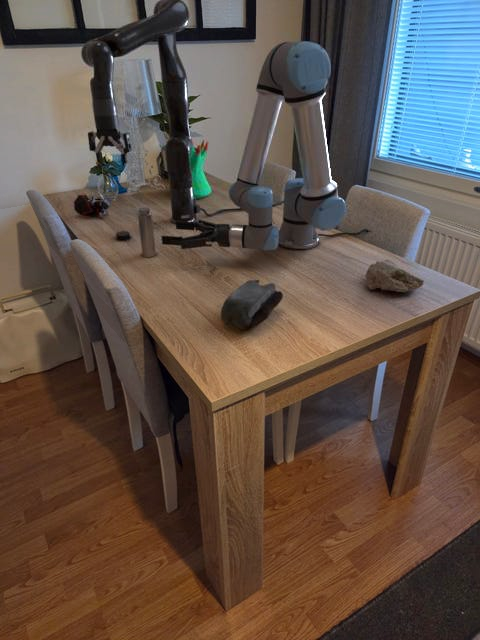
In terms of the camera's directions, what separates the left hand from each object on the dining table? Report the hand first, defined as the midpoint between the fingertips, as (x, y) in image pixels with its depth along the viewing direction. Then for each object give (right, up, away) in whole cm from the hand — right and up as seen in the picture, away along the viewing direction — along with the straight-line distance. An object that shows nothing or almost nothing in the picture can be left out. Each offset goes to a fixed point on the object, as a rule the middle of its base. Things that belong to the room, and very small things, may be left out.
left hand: (112, 164), depth 154 cm
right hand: (+20, -25, -5) cm, 32 cm away
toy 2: (+20, +7, +63) cm, 66 cm away
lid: (0, -22, +13) cm, 26 cm away
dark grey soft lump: (+48, -53, -34) cm, 79 cm away
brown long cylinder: (+12, -31, +1) cm, 33 cm away
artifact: (+89, -43, -18) cm, 101 cm away
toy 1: (-19, -10, +35) cm, 41 cm away
